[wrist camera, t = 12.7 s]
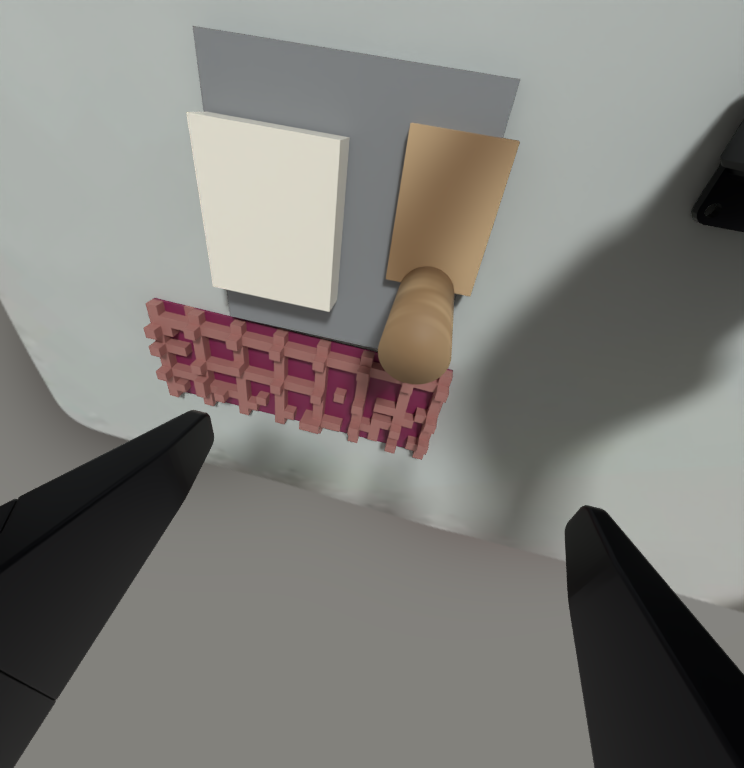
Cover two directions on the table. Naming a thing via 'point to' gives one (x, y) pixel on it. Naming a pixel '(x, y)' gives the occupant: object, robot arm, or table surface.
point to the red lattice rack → (291, 377)
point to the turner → (439, 242)
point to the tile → (271, 207)
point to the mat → (366, 149)
